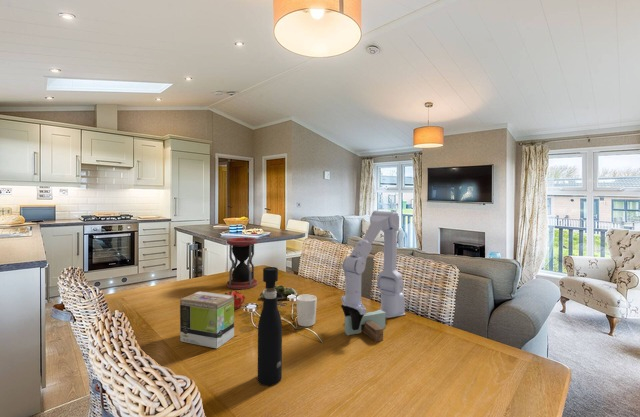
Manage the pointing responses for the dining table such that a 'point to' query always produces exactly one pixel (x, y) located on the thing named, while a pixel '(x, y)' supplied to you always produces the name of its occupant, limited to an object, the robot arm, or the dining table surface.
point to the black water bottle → (270, 333)
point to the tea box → (207, 319)
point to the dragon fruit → (237, 298)
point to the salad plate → (282, 292)
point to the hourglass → (241, 263)
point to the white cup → (306, 309)
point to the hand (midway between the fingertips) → (352, 327)
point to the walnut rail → (372, 330)
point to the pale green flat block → (374, 316)
